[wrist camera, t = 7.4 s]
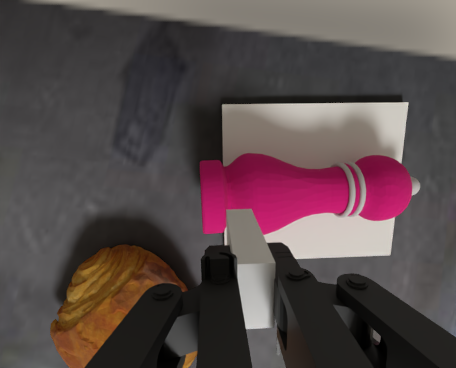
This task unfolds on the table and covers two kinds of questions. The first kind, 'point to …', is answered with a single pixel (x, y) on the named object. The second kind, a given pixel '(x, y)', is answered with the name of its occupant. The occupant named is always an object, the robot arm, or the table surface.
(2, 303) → the table surface
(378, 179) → the pepper mill
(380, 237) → the white mat
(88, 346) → the croissant
